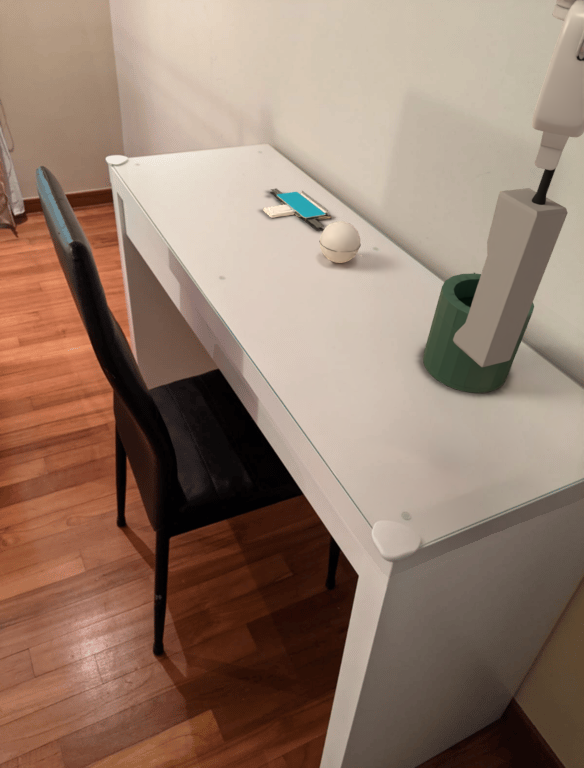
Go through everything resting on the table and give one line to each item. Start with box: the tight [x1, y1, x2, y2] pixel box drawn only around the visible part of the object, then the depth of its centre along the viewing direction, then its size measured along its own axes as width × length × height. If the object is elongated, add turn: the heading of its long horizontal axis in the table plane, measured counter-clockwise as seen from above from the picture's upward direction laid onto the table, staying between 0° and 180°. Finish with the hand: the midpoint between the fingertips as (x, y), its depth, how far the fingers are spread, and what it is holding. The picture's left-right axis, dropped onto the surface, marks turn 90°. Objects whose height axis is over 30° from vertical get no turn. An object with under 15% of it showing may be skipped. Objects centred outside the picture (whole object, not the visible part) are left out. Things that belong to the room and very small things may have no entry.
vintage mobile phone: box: [453, 167, 568, 367], centre depth 57 cm, size 4×5×25 cm
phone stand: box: [262, 188, 332, 232], centre depth 127 cm, size 20×12×2 cm, turn 30°
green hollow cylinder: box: [422, 273, 535, 394], centre depth 86 cm, size 12×12×12 cm
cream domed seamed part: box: [319, 220, 364, 264], centre depth 109 cm, size 10×7×7 cm
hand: (546, 162), depth 52 cm, fingers closed on vintage mobile phone
